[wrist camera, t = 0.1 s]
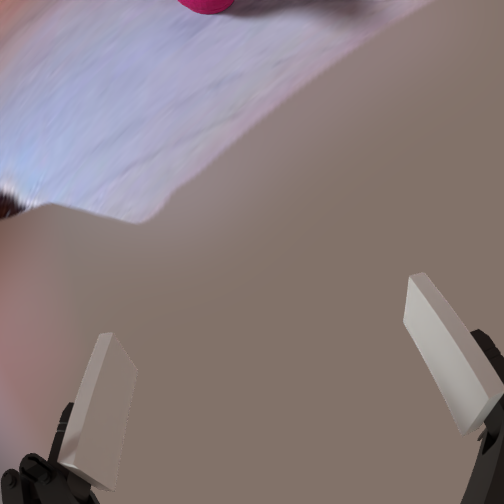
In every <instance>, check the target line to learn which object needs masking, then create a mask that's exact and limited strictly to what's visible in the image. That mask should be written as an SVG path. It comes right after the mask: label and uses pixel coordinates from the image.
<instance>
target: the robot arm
mask: <svg viewBox="0 0 504 504" xmlns="http://www.w3.org/2000/svg"><path fill="white" fill-rule="evenodd" d="M403 323H404V324H405V326H406V328H407V330H408V331H409V333H410V335H411V337H412V339H413V340H414V342H415V344H416V346H417V347H418V349H419V351H420V353H421V355H422V357H423V359H424V360H425V362H426V364H427V366H428V368H429V370H430V372H431V374H432V376H433V378H434V380H435V381H436V383H437V385H438V387H439V389H440V391H441V393H442V395H443V397H444V400H445V402H446V404H447V406H448V408H449V410H450V412H451V414H452V416H453V418H454V421H455V422H456V425H457V427H458V429H459V431H460V434H461V436H462V437H463V436H465V435H467V434H469V433H471V432H473V431H475V430H477V429H478V428H479V427H480V426H481V425H482V423H483V422H484V423H485V425H486V428H485V430H484V431H483V432H482V433H481V435H480V436H479V438H478V441H480V440H481V439H482V438H483V439H482V442H481V446H480V449H479V453H478V456H477V460H476V463H475V466H474V469H473V472H472V475H471V477H470V480H469V483H468V486H467V489H466V491H465V494H464V496H463V499H462V501H461V504H504V357H503V356H502V355H501V354H500V351H499V350H498V348H496V347H495V344H494V343H493V341H492V340H491V339H490V337H489V336H488V335H487V334H485V333H484V332H482V331H481V330H479V329H478V330H475V331H472V332H469V331H468V329H467V328H466V327H465V325H464V324H463V322H462V321H461V320H460V318H459V317H458V315H457V314H456V313H455V312H454V310H453V309H452V307H451V306H450V305H449V304H448V302H447V301H446V299H445V298H444V297H443V296H442V294H441V293H440V292H439V290H438V289H437V288H436V286H435V285H434V284H433V283H432V281H431V280H430V279H429V278H428V276H427V275H426V274H425V273H424V272H422V273H419V274H415V275H411V276H409V283H408V291H407V299H406V307H405V313H404V320H403ZM137 374H138V370H137V368H136V367H135V365H134V364H133V362H132V361H131V359H130V358H129V356H128V355H127V354H126V352H125V350H124V349H123V347H122V345H121V344H120V342H119V341H118V339H117V337H116V336H115V334H114V333H113V332H112V333H104V334H100V335H99V337H98V340H97V342H96V345H95V347H94V350H93V353H92V355H91V358H90V361H89V363H88V366H87V369H86V372H85V374H84V377H83V380H82V382H81V385H80V388H79V391H78V394H77V397H76V400H75V403H69V404H68V405H67V407H66V408H65V409H64V411H63V412H62V416H61V418H60V421H59V422H60V424H59V425H58V428H57V432H56V434H55V437H54V441H53V444H52V448H51V451H50V454H49V458H48V461H46V460H44V459H43V458H42V457H40V456H39V455H37V454H35V453H30V454H27V455H26V456H25V457H24V458H23V459H22V461H21V463H20V467H19V472H20V473H19V472H18V471H16V470H14V469H9V470H7V471H5V473H4V474H3V476H2V478H1V491H2V501H3V504H100V503H99V501H98V500H97V498H96V496H95V494H94V493H93V492H92V491H91V490H90V489H91V485H93V486H94V487H96V488H97V489H99V490H105V491H112V492H115V487H116V481H117V473H118V468H119V462H120V456H121V451H122V445H123V440H124V435H125V430H126V424H127V420H128V415H129V410H130V405H131V400H132V396H133V391H134V387H135V383H136V378H137Z"/></svg>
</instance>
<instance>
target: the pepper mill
mask: <svg viewBox="0 0 504 504" xmlns="http://www.w3.org/2000/svg"><path fill="white" fill-rule="evenodd" d="M178 1H179V2H180V3H181V4H182V5H184V6H186V7H188V8H189V9H191V10H192V11H194V12H197V13H200V14H215V13H218V12H221V11H223V10H225V9H227V8H228V7H229V6H230V5H231V4H232V3H233V2H234V0H178Z"/></svg>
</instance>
